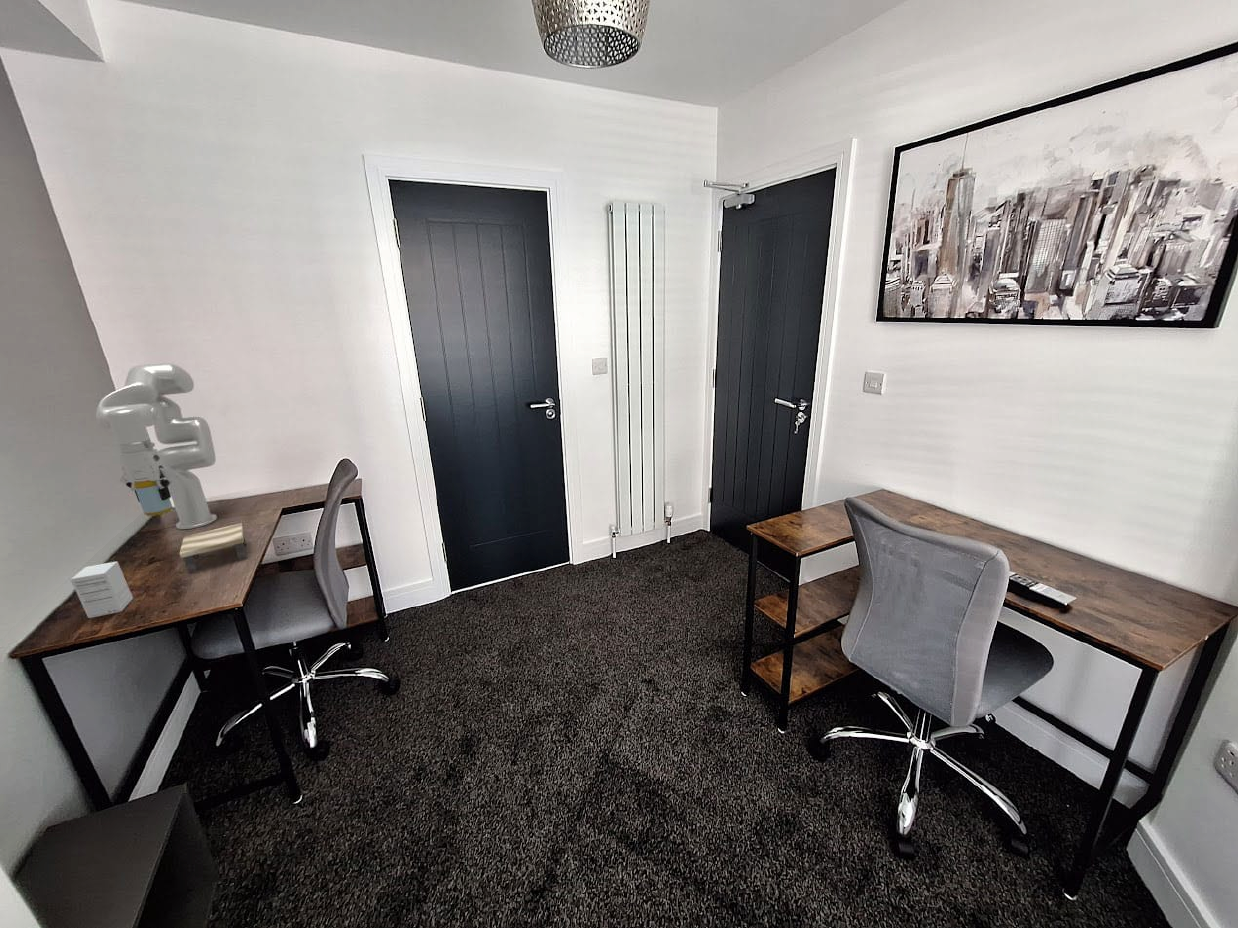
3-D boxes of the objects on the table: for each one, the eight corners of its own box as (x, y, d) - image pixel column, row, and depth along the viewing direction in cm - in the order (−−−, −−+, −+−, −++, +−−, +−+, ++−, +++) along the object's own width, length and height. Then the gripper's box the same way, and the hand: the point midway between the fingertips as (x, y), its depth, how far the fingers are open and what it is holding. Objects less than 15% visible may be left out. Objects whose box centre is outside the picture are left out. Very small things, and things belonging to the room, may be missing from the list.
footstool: (190, 556, 167) (183, 536, 165) (247, 541, 176) (241, 523, 174) (187, 574, 155) (179, 553, 152) (248, 558, 164) (242, 538, 161)
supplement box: (101, 605, 140) (84, 566, 136) (134, 598, 143) (118, 560, 139) (86, 619, 133) (68, 579, 130) (121, 611, 136) (104, 572, 132)
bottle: (146, 518, 156) (129, 474, 151) (144, 513, 160) (128, 470, 156) (174, 511, 161) (159, 468, 156) (171, 506, 165) (157, 464, 161)
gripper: (174, 442, 158) (191, 493, 164) (117, 446, 157) (136, 497, 162) (155, 448, 151) (174, 502, 156) (95, 452, 149) (116, 506, 155)
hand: (155, 499), depth 159 cm, fingers closed on bottle, 6 cm apart
